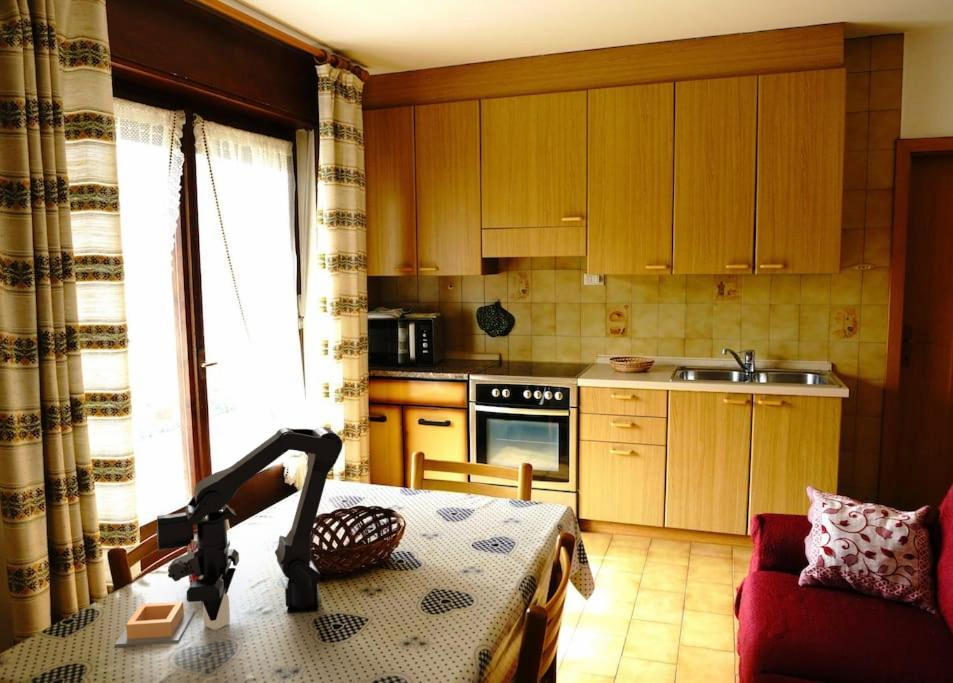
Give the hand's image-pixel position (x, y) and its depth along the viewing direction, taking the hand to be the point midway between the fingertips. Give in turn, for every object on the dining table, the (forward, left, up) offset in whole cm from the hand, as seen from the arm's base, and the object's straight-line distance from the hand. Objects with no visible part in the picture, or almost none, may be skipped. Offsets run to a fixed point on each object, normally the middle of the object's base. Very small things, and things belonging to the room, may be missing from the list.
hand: (216, 613), depth 148 cm
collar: (+12, 0, -2) cm, 12 cm away
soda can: (+7, -19, -3) cm, 20 cm away
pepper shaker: (0, 0, -3) cm, 3 cm away
